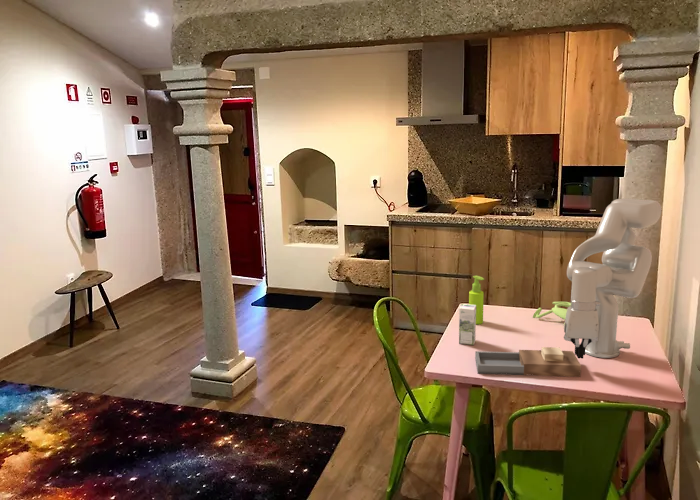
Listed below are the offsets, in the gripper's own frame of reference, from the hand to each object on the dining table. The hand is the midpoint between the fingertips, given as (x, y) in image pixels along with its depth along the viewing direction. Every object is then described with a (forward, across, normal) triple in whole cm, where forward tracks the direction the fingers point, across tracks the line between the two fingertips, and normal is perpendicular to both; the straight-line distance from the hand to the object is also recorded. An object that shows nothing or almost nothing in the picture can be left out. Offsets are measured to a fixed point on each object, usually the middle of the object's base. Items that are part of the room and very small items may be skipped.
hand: (579, 356), depth 196 cm
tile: (+1, +9, 0) cm, 9 cm away
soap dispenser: (+5, +31, -44) cm, 54 cm away
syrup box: (+5, +36, -22) cm, 42 cm away
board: (+5, +10, 0) cm, 11 cm away
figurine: (+5, -6, -48) cm, 49 cm away
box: (+5, +26, 0) cm, 27 cm away
